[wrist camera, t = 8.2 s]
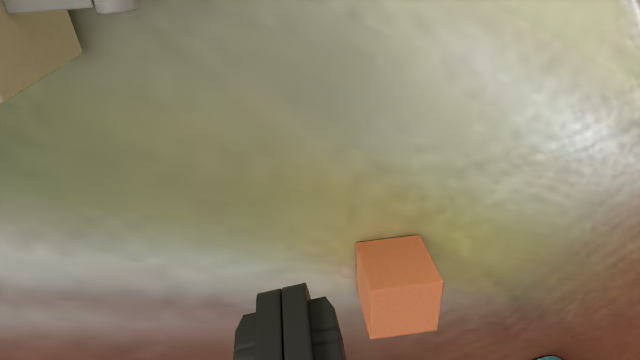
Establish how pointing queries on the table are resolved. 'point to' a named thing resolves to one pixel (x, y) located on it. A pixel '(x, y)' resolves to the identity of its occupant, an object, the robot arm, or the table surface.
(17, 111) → the table surface
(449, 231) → the table surface
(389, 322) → the block
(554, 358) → the tube
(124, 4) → the drawer
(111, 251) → the table surface
